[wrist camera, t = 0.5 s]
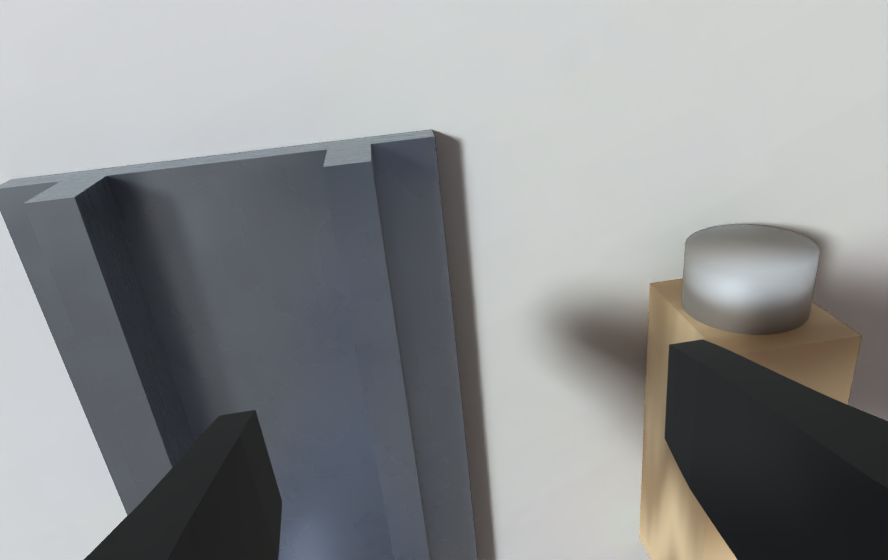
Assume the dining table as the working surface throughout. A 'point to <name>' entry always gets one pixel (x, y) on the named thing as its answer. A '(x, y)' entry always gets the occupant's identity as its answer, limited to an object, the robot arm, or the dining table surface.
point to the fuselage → (743, 332)
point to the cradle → (268, 329)
